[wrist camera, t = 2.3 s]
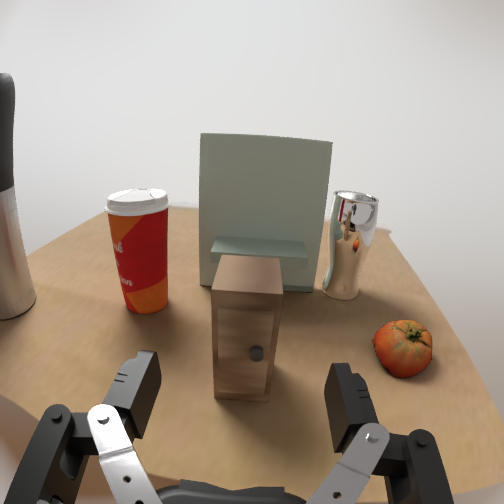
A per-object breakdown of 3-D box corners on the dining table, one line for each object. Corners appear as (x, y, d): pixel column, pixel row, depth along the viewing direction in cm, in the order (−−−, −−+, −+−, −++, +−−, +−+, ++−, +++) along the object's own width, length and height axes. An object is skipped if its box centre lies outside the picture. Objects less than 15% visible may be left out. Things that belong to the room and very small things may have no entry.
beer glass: (310, 291, 45) (324, 193, 39) (329, 275, 50) (342, 188, 44) (351, 307, 41) (372, 205, 35) (366, 288, 46) (385, 198, 40)
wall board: (192, 304, 40) (190, 134, 31) (205, 270, 49) (207, 132, 41) (318, 312, 40) (343, 144, 31) (308, 276, 49) (324, 140, 41)
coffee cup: (125, 286, 43) (115, 188, 37) (178, 287, 44) (174, 186, 38) (111, 318, 35) (93, 204, 29) (172, 320, 36) (165, 202, 30)
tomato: (369, 368, 28) (392, 304, 29) (356, 366, 34) (376, 313, 36) (430, 388, 26) (450, 326, 27) (409, 383, 32) (427, 331, 34)
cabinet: (212, 407, 24) (208, 298, 20) (221, 356, 31) (221, 254, 26) (268, 411, 24) (284, 303, 20) (267, 359, 31) (279, 258, 26)
